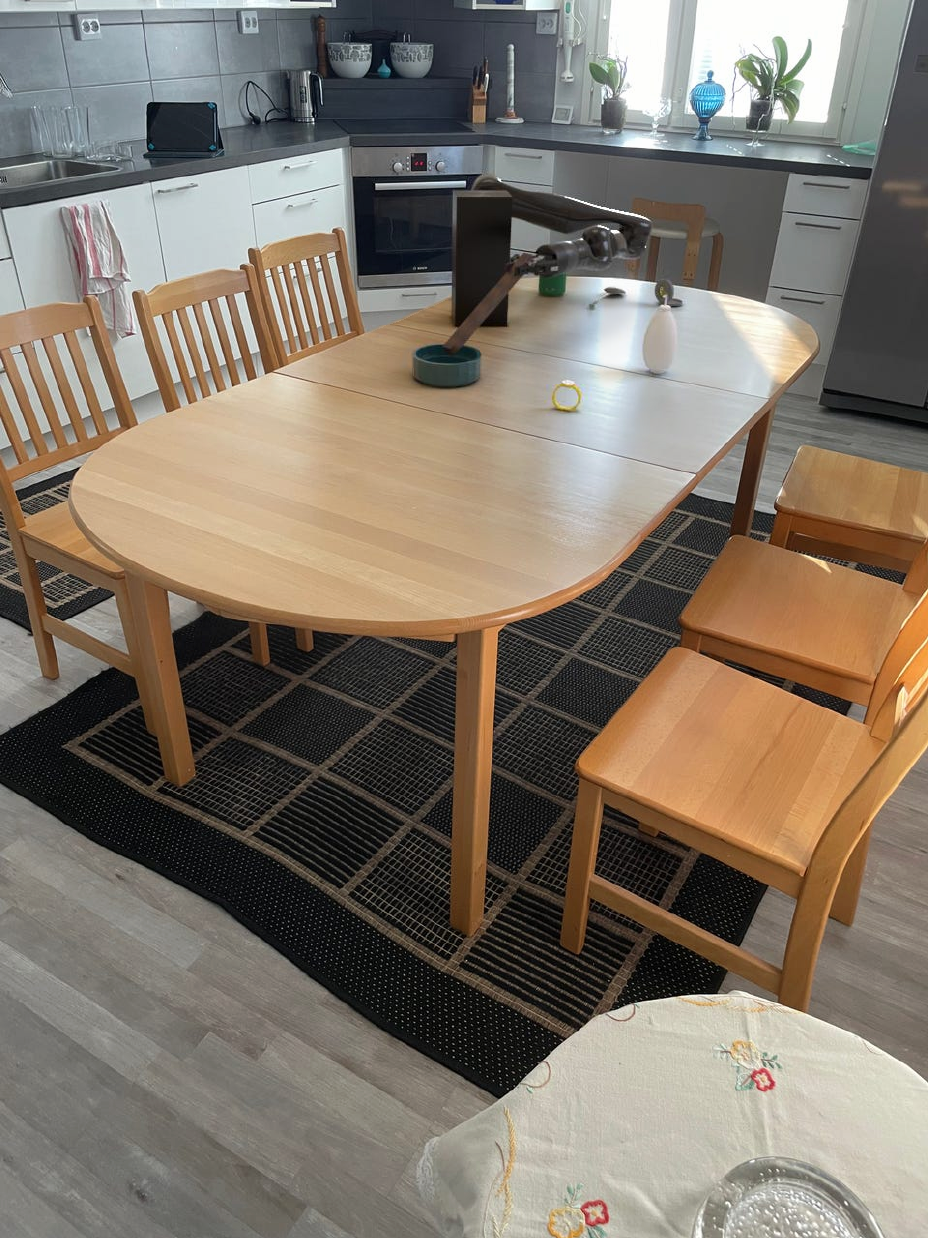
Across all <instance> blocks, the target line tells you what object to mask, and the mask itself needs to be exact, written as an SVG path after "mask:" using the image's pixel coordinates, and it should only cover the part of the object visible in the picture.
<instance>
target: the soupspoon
mask: <svg viewBox="0 0 928 1238" xmlns="http://www.w3.org/2000/svg"><path fill="white" fill-rule="evenodd" d="M603 291H604V292H605V294H603V295H602V296H601V297H599V298H598V299H597V300H594V301H593V302H591V303H589V304H588V308H589V309H590V310H594V309H595V307H596V305H597V304H598V303H599V302H601V301H602V300H604V299H605V298H606V297H609V296H611V295H617V294H624V295H625V294H627V292H626V290H624V289H622V288H621V287H618V286H608V287H605V288H604V289H603Z"/></svg>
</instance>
